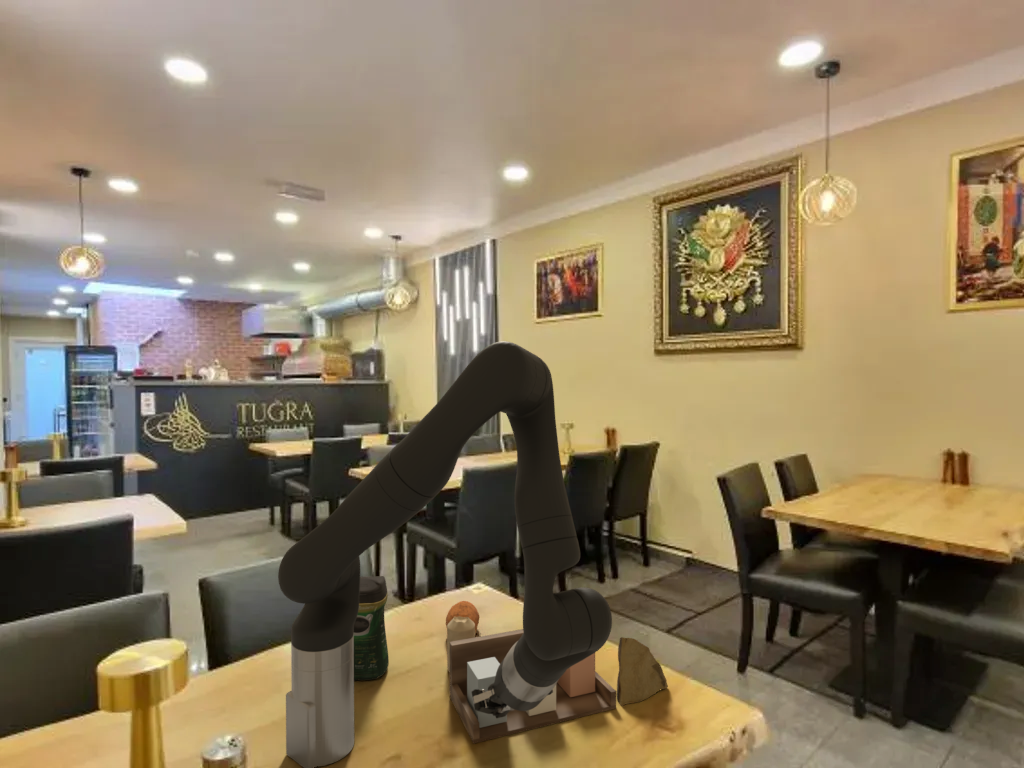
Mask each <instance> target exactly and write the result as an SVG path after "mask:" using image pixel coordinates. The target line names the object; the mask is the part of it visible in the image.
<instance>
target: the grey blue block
mask: <svg viewBox="0 0 1024 768" xmlns="http://www.w3.org/2000/svg"><path fill="white" fill-rule="evenodd" d="M499 665H500V663H499V662H498V661H497V659H496V658H495V657H491V658H486V659H481V660H476V661H470V662H467V702H468V704H469V705H470V707H471V709H472V711H473V713H474V714H475V716H476V718H477V720H478V722H479V728H482V727H486V726H490V725H494V724H499V723H503V722H507V715H506V716H505V717H500V718H496V717H495V716H493V714H487V713H483V712H480V711H476V710H475V708H474V703H473V698H472V693H471V692H472V691H474V690H475V689H479V690H483V689H484V690H485V692H486V691H488V687H489V685H491V684H492V683H494V681H495V676H496V672H497V669H498V667H499Z"/></svg>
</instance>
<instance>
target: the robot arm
mask: <svg viewBox="0 0 1024 768" xmlns="http://www.w3.org/2000/svg"><path fill="white" fill-rule="evenodd" d="M552 377H553V376H552V373H551V370H550V367H549V366H548V365H547V363H546V362H545V361H544V360H543V359H542V358H541V357H539V356H538V355H536V354H535V353H534V352H533V353H532V352H531V351H529V350H527V349H526V348H525V347H522V346H520V345H519V344H517V343H514V342H511V341H507V340H506V341H505V340H502V341H501V340H500V341H497V342H493V343H491V344H489V345H487V346H486V347H484V348H483V349H482V350H481V351H479V352H478V353H477V355H475V356H474V358H473V359H472V360H471V361H470V362H469V364H468V365H466V367H465V369H463V370H462V372H461V373H460V374H459V376H458V377H457V378H456V380H455V381H454V382H453V383H452V385H451V386H450V387H449V388H448V390H447V391H446V392H445V393H444V395H443V396H442V397H441V398H440V399H439V401H438V402H437V403H436V404H435V405H434V406H433V407H432V408H431V409H430V411H429V412H427V413H426V414H425V416H424V417H422V418H421V420H420V421H419V422H418V423H417V424H416V425H415V426H414V427H413V428H412V429H410V431H409V432H408V433H407V434H406V435H405V436H404V438H402V439H401V440H400V441H399V442H398V443H397V444H396V445H395V446H394V447H393V448H392V449H391V450H389V452H387V454H386V455H385V456H384V457H383V458H382V459H380V461H378V463H377V464H376V465H375V466H374V467H373V468H372V469H371V470H370V472H369V473H367V475H366V476H365V477H364V478H363V479H362V480H361V481H360V482H359V483H357V486H355V488H354V489H352V490H351V491H350V493H349V494H348V495H347V496H346V497H345V498H344V499H343V501H342V502H341V503H340V504H339V505H338V506H337V508H336V509H335V510H334V511H333V512H332V513H331V514H330V515H329V516H327V518H326V519H325V520H323V521H322V522H321V523H320V524H319V525H318V526H316V527H315V528H314V529H312V530H311V531H310V532H309V533H307V534H306V535H305V536H303V537H302V538H301V539H300V540H298V541H297V542H296V543H294V544H293V545H292V546H291V547H290V548H289V549H288V550H287V551H286V552H285V554H284V555H283V557H282V558H281V561H280V564H279V566H278V567H279V568H278V572H277V573H278V574H277V577H278V579H277V580H278V585H279V588H280V590H281V592H282V594H283V595H284V596H285V597H286V598H287V599H289V600H290V601H292V602H294V603H296V604H297V603H298V604H302V605H303V604H304V605H303V607H302V609H301V610H300V611H299V614H298V615H297V616H296V618H295V619H294V621H293V622H292V625H291V630H290V631H291V632H290V640H291V641H290V643H291V647H290V649H291V651H290V653H291V655H290V656H291V657H290V660H291V661H290V662H291V663H290V665H291V666H290V667H291V669H290V671H291V676H290V677H291V678H290V679H291V680H290V682H291V685H290V686H291V690H290V691H287V692H286V694H285V744H286V745H285V746H286V747H285V750H286V751H285V754H286V756H288V757H289V758H291V759H292V760H293V761H294V762H296V763H297V764H298V765H300V766H301V767H302V768H314V767H315V768H318V767H322V766H327V765H331V764H334V763H336V762H338V761H340V760H342V759H343V758H345V757H346V756H347V755H348V754H349V753H350V752H351V751H352V749H353V748H354V745H355V680H354V623H355V620H356V618H357V615H358V610H359V594H360V577H361V559H360V556H361V555H362V554H364V553H365V552H366V551H367V550H368V549H369V548H370V547H371V548H372V546H374V545H376V544H378V542H380V541H382V540H383V539H385V537H387V536H389V535H390V534H392V533H394V532H395V531H396V530H398V529H399V528H401V527H402V526H403V525H404V524H406V523H407V522H409V521H410V520H411V519H412V518H414V517H415V515H417V514H418V513H419V512H420V511H422V510H423V509H424V508H425V507H426V506H427V505H428V504H429V503H431V501H433V500H434V498H435V497H436V496H437V495H439V493H440V492H441V491H442V490H444V488H445V486H447V484H448V482H449V481H450V479H451V478H452V475H453V473H454V470H455V469H456V466H457V462H458V460H459V457H460V454H461V452H462V450H463V448H464V447H465V445H466V443H467V442H468V441H469V440H470V439H471V437H472V436H473V435H474V434H475V433H477V432H478V430H479V429H481V428H482V427H483V426H484V425H485V424H486V423H487V422H488V421H490V420H491V419H492V418H494V417H495V416H496V415H497V414H499V413H500V412H501V413H504V414H506V417H507V420H508V422H509V424H510V426H511V431H512V433H513V436H514V441H515V448H516V460H517V462H516V463H517V464H516V465H517V466H516V474H515V475H516V476H515V482H514V483H515V484H514V513H515V514H514V515H515V519H516V526H517V531H518V535H519V541H520V545H521V546H520V547H521V550H522V554H523V561H524V562H523V563H524V589H523V590H524V592H523V593H524V595H523V605H522V606H523V607H522V629H523V632H524V633H523V634H522V636H521V637H520V639H519V640H518V641H517V642H516V643H515V644H514V645H513V646H512V648H511V649H510V650H509V652H508V653H507V655H506V656H505V658H504V659H503V661H502V662H501V664H500V665H499V667H498V669H497V672H496V676H495V681H494V683H492V684H491V685H489V687H488V691H486V692H485V690H484V689H483V690H479V689H475V690H474V691H472V692H471V693H472V698H473V703H474V708H475V710H476V711H480V712H483V713H487V714H493V716H495V717H496V718H500V717H505V716H506V715H507V714H508V712H510V711H513V710H514V709H515V710H518V711H527V710H531V709H533V708H535V707H536V706H537V705H538V704H539V703H540V702H541V701H542V700H543V699H544V698H545V697H546V696H547V695H550V694H551V693H553V690H552V689H553V688H554V687H555V685H556V683H557V682H558V680H559V678H560V677H561V676H562V675H563V674H564V673H565V671H566V670H567V669H568V668H570V667H571V666H573V665H575V664H576V663H578V662H580V661H582V660H584V659H585V658H587V657H589V656H590V655H592V654H594V653H595V654H596V652H598V651H599V650H600V649H601V648H603V646H605V644H606V643H607V641H608V639H609V637H610V634H611V631H612V626H613V616H612V611H611V606H610V605H609V602H608V601H607V599H606V598H605V597H604V596H603V595H602V594H601V593H600V592H599V591H598V590H595V589H593V588H590V587H585V586H584V587H576V588H571V589H567V590H562V591H559V592H555V593H554V585H555V581H556V577H557V575H558V574H560V573H561V572H563V571H566V570H568V569H570V568H572V567H574V566H576V565H577V564H578V563H579V561H580V559H581V548H580V543H579V540H578V536H577V532H576V531H577V530H576V527H575V524H574V519H573V515H572V510H571V506H570V502H569V498H568V493H567V488H566V484H565V479H564V474H563V469H562V468H563V467H562V463H561V456H560V448H559V447H560V446H559V440H558V430H557V424H556V423H557V422H556V409H555V394H554V393H555V391H554V384H553V378H552ZM317 766H318V767H317Z"/></svg>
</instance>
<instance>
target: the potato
mask: <svg viewBox="0 0 1024 768" xmlns="http://www.w3.org/2000/svg"><path fill="white" fill-rule="evenodd" d="M459 616H460V617H465V618H466V617H468V618H470V619H471V620H472V621H473V622H474V623H475V634H477V630H478V627H479V626H478V625H479V622H480V614H479V611H478V609H477V606H475V605H474V604H473V603H471V602H470V601H466V600H461V601H458V602H457V603H455V604H453V605H452V606H451V607H450V608H449V610H448V611H447V615H446V616H445V617H446V618H445V626H446V627H447V625H448V623H449V622H450V621H451V620H452V619H453V618H454V617H459Z"/></svg>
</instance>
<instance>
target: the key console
mask: <svg viewBox="0 0 1024 768" xmlns="http://www.w3.org/2000/svg"><path fill="white" fill-rule="evenodd" d="M523 633H524V632H523V628H521V629H517V630H516V629H515V630H510V631H505V632H503V631H502V632H498V633H494V634H493V633H492V634H487V635H482V636H475V638H469V639H464V640H458V641H452V642H450V672H449V698H450V700H451V702H452V705H453V704H454V705H453V707H454V706H455V707H454V709H455V710H456V712H457V715H458V717H459V718H460V720H461V722H462V723H463V726H464V728H465V730H466V733H468V735H469V738H470V739H471V740H470V741H471V742H472V744H477V743H481V742H486V741H490V740H492V739H497V738H502V737H506V736H510V735H513V734H517V733H518V734H519V733H522V732H526V731H531V730H533V729H538V728H542V727H545V726H546V727H547V726H549V725H550V726H551V725H554V724H558V723H561V722H566V721H570V720H574V719H578V718H582V717H587V716H591V715H595V714H599V713H602V712H606V711H607V712H608V711H610V710H615V709H617V689H615V688H614V687H612V686H611V684H609V683H608V682H607V681H606V680H605V679H604V677H602V676H601V675H600V674H599V673H598V672H597V671H596V670H595V692H592V693H587V694H583V695H579V696H574V697H570V696H569V695H568V694H567V693H566V692H565V691H564V690H563V688H562V687H561V686H560V685H559V684H558V683H556V710H553V711H549V712H545V713H541V714H536V715H532V716H529V715H528V714H527V712H526V711H518V710H515V709H514V710H513V711H510V712H508V714H507V722H503V723H499V724H494V725H490V726H486V727H482V728H479V722H478V720H477V718H476V716H475V714H474V713H473V711H472V709H471V707H470V705H469V704H468V702H467V662H470V661H476V660H481V659H486V658H491V657H495V658H496V659H497V661H498V662H499V663H500V664H501V662H502V661H503V659H504V658H505V656H506V655H507V653H508V652H509V650H510V649H511V648H512V646H513V645H514V644H515V643H516V642H517V641H518V640H519V639H520V637H521V636H522V634H523Z"/></svg>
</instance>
